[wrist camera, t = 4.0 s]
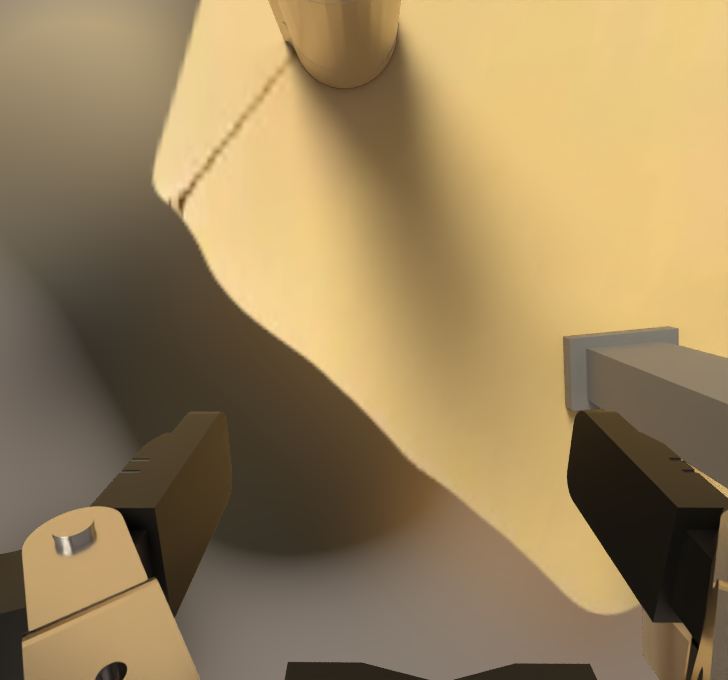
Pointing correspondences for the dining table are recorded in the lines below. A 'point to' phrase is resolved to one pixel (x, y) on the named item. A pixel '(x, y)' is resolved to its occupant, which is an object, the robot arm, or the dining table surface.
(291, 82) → the dining table surface
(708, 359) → the stand
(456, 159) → the dining table surface
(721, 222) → the dining table surface
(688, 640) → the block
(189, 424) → the robot arm
